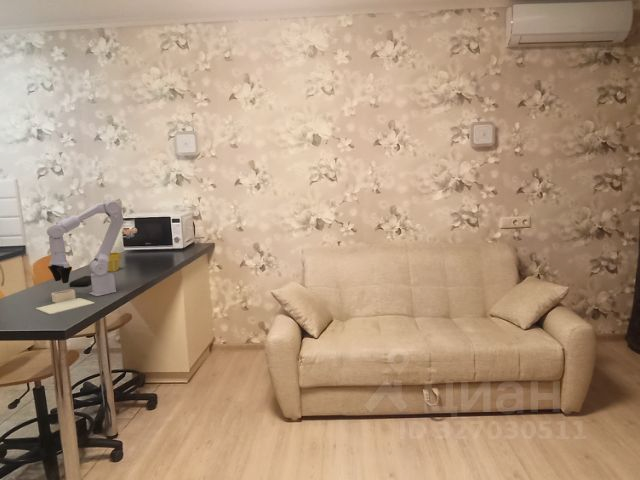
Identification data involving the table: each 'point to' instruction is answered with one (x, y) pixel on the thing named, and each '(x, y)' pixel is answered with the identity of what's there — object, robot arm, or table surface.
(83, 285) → the carrying case or bag
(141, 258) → the table surface
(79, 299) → the mat
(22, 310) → the table surface
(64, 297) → the card deck box
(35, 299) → the table surface
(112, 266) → the plant pot
